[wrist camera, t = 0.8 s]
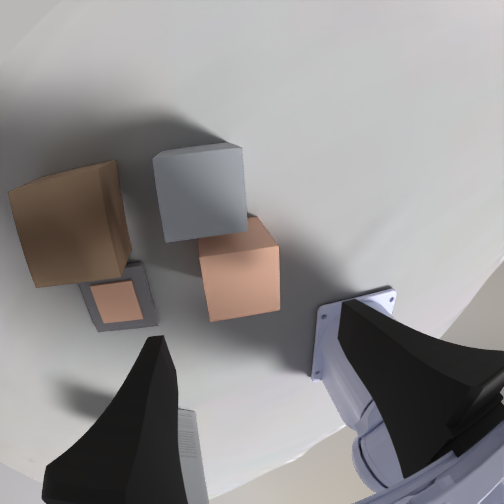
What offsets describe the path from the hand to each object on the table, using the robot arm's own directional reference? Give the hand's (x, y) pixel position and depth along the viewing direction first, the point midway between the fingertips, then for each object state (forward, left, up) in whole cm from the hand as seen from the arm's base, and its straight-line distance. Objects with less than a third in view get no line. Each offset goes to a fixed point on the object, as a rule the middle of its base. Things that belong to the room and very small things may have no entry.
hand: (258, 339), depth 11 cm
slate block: (+5, +1, -10) cm, 11 cm away
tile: (-3, +8, -9) cm, 13 cm away
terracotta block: (0, 0, -10) cm, 10 cm away
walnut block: (+4, +9, -10) cm, 14 cm away
